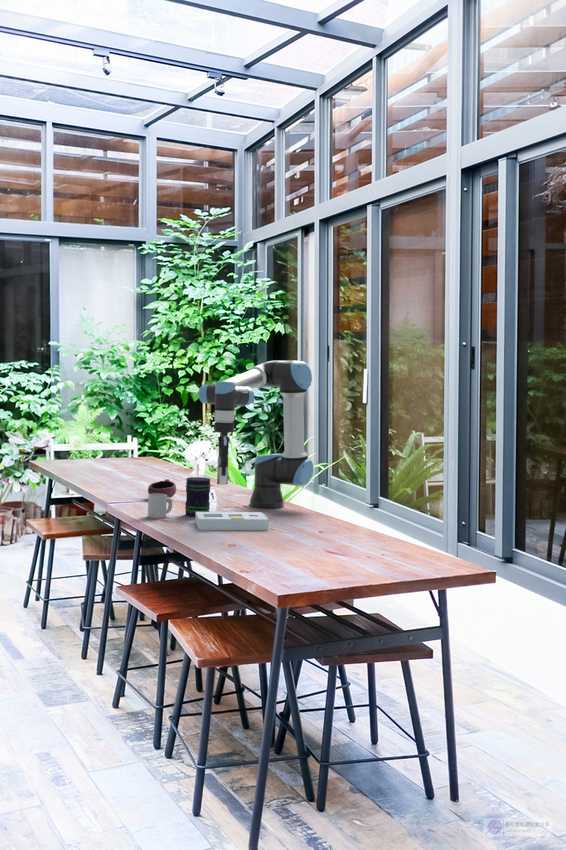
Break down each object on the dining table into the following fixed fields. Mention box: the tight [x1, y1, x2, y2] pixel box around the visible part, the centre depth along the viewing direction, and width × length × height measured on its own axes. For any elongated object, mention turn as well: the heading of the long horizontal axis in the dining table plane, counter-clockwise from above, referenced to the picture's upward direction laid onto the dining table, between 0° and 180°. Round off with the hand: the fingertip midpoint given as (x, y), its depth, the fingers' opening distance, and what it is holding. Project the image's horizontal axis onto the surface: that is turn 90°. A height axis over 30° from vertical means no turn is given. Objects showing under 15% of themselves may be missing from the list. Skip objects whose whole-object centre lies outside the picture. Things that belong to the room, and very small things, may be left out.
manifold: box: [194, 511, 270, 531], centre depth 308 cm, size 16×26×4 cm, turn 101°
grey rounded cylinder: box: [216, 456, 229, 486], centre depth 308 cm, size 4×4×10 cm
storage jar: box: [184, 476, 211, 518], centre depth 329 cm, size 10×10×15 cm
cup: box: [147, 493, 173, 520], centre depth 322 cm, size 7×10×9 cm
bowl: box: [147, 478, 177, 499], centre depth 369 cm, size 16×13×8 cm
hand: (222, 483), depth 308 cm, fingers closed on grey rounded cylinder, 4 cm apart
